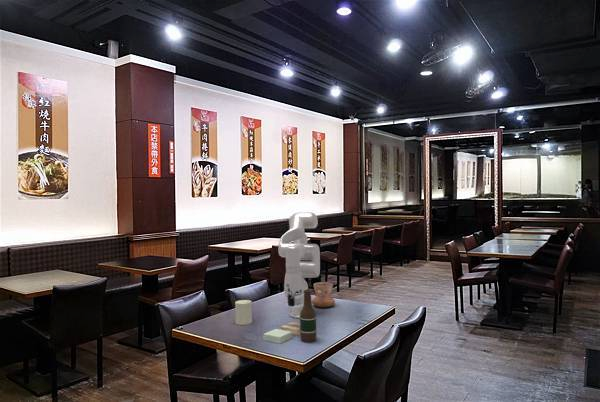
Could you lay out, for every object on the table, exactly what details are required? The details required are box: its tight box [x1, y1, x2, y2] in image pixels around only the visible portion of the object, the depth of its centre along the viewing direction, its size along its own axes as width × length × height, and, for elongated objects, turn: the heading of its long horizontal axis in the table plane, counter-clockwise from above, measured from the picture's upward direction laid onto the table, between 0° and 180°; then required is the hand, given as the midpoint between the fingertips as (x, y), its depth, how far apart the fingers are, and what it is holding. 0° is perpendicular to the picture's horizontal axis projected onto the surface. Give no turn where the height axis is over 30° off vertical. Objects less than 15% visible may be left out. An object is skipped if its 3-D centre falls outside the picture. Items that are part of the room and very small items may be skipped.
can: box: [234, 299, 253, 326], centre depth 240 cm, size 9×9×12 cm
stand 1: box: [262, 328, 293, 345], centre depth 210 cm, size 10×10×3 cm
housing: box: [284, 293, 303, 308], centre depth 223 cm, size 5×8×6 cm, turn 55°
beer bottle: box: [299, 289, 317, 343], centre depth 208 cm, size 8×8×24 cm
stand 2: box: [280, 321, 300, 337], centre depth 222 cm, size 10×10×3 cm
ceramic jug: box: [311, 281, 336, 309], centre depth 274 cm, size 18×14×14 cm
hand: (294, 304), depth 223 cm, fingers closed on housing, 5 cm apart
